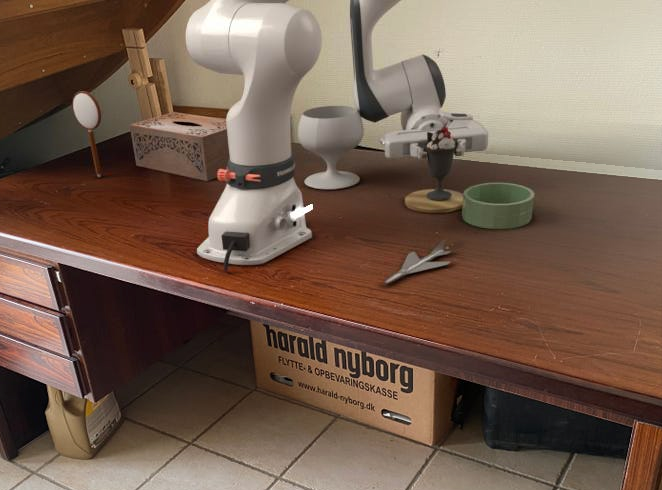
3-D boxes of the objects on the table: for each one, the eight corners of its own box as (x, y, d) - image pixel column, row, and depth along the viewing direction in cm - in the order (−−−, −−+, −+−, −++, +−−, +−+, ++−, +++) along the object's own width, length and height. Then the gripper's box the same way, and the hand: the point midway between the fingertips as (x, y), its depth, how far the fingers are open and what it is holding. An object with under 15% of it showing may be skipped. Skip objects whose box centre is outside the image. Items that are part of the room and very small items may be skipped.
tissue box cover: (136, 165, 181) (129, 124, 176) (179, 151, 190) (173, 112, 185) (207, 181, 166) (201, 137, 161) (250, 164, 175) (246, 122, 170)
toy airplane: (364, 280, 115) (364, 267, 114) (439, 239, 127) (440, 226, 126) (404, 293, 110) (404, 279, 109) (477, 249, 122) (478, 236, 121)
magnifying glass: (84, 176, 176) (66, 90, 166) (89, 174, 178) (72, 89, 167) (109, 180, 172) (93, 92, 162) (115, 178, 173) (98, 91, 163)
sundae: (459, 200, 140) (463, 122, 132) (424, 203, 141) (426, 125, 133) (453, 188, 146) (456, 112, 138) (419, 191, 146) (421, 115, 138)
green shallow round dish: (523, 232, 127) (526, 208, 125) (453, 224, 133) (454, 200, 130) (538, 209, 136) (541, 186, 134) (472, 202, 142) (474, 180, 139)
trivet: (456, 216, 136) (456, 212, 136) (396, 209, 142) (396, 205, 141) (474, 195, 145) (474, 192, 144) (416, 190, 150) (417, 186, 150)
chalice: (346, 195, 151) (344, 122, 143) (288, 188, 158) (284, 117, 150) (374, 175, 161) (374, 106, 153) (319, 169, 167) (316, 102, 160)
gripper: (378, 122, 148) (387, 142, 137) (479, 113, 147) (496, 132, 136) (379, 152, 152) (387, 174, 140) (477, 144, 151) (494, 165, 139)
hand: (441, 153), depth 138 cm, fingers closed on sundae, 5 cm apart
